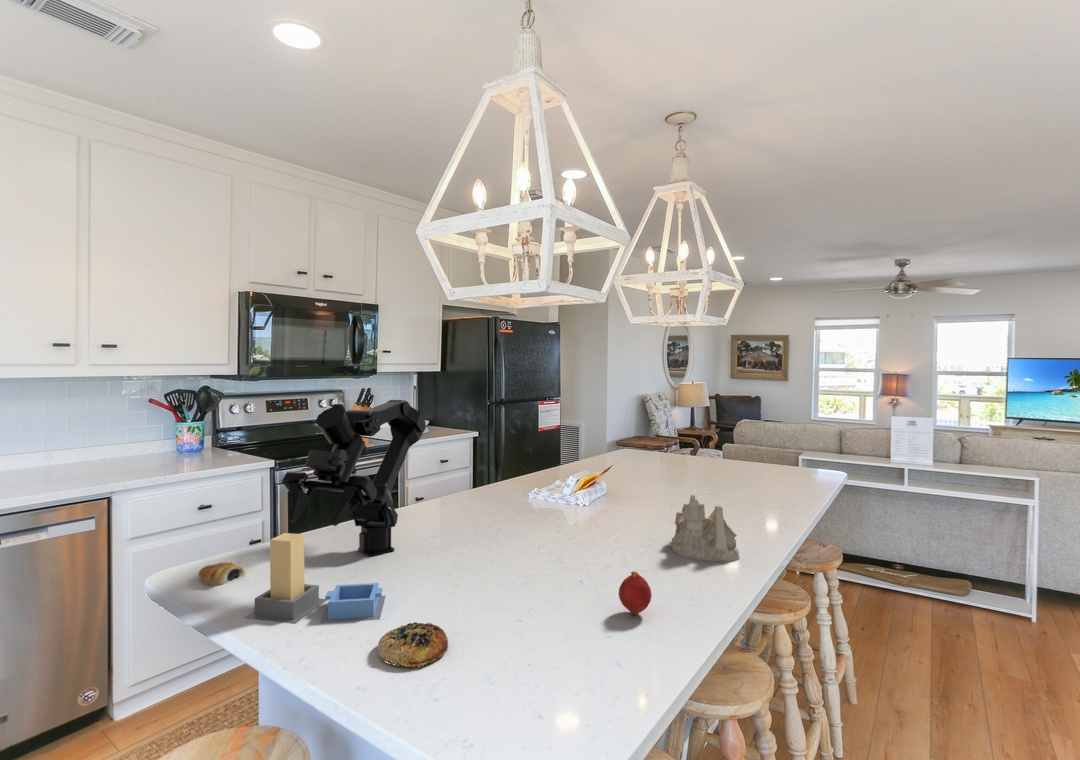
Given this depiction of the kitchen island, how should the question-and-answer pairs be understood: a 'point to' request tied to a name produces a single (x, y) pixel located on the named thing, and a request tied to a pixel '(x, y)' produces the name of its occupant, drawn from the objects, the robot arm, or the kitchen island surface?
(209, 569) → the pastry
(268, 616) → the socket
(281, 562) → the tall tan pillar
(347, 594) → the blue bezel socket
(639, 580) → the onion
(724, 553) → the grey sandcastle model
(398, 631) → the bread roll
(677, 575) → the kitchen island surface
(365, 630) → the kitchen island surface
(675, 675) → the kitchen island surface
